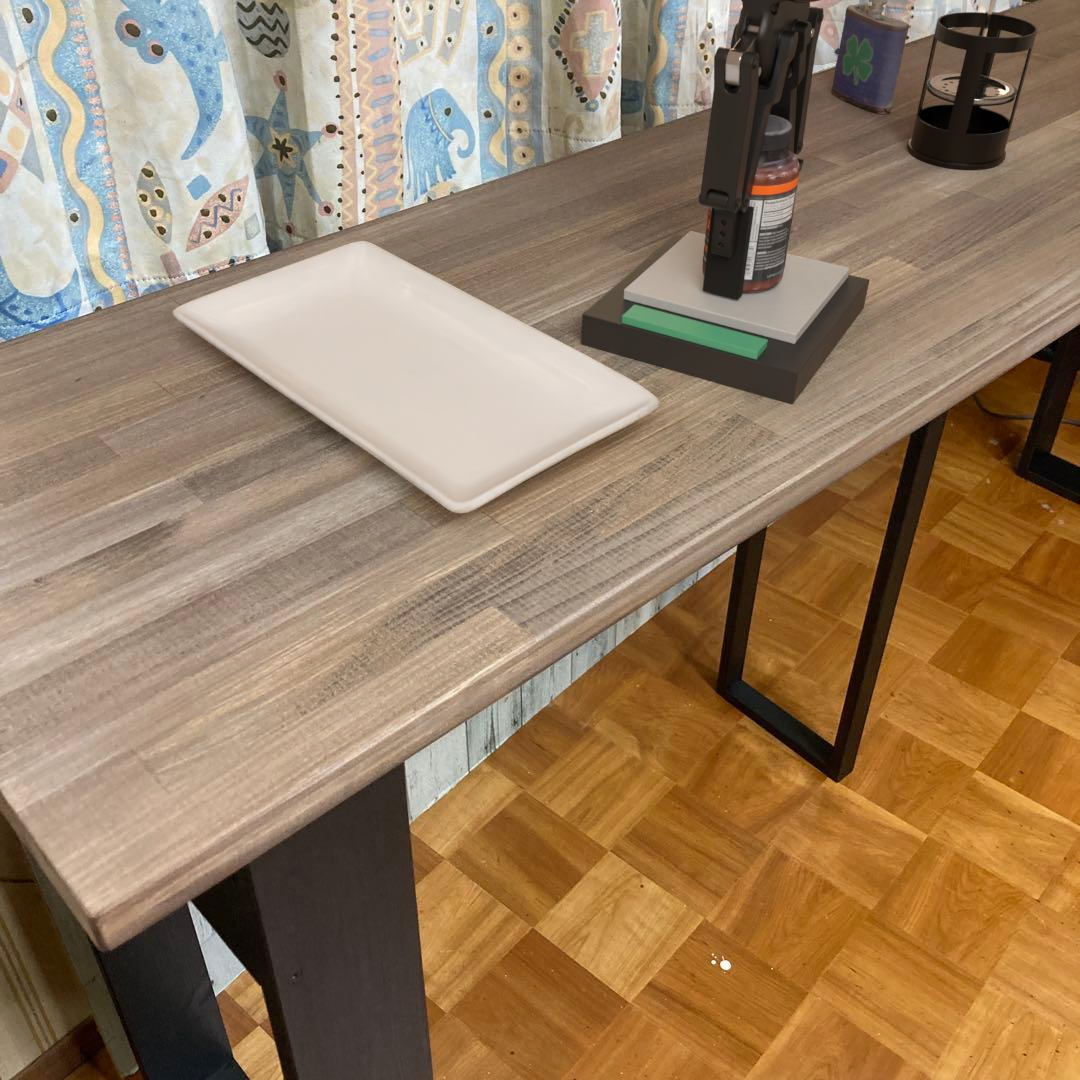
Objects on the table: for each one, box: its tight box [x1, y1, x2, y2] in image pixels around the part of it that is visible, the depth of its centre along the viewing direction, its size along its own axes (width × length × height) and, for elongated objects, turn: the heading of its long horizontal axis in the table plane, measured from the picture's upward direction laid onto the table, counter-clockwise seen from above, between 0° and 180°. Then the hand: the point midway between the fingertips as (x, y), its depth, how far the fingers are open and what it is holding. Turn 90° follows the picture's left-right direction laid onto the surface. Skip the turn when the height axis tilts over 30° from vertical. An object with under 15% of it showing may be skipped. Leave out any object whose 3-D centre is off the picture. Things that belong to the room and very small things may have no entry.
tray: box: [172, 240, 661, 514], centre depth 74 cm, size 17×31×4 cm, turn 43°
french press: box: [906, 0, 1038, 171], centre depth 105 cm, size 12×9×23 cm
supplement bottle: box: [702, 115, 801, 293], centre depth 79 cm, size 6×6×11 cm
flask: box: [830, 0, 910, 115], centre depth 121 cm, size 9×3×11 cm, turn 25°
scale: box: [580, 230, 870, 405], centre depth 82 cm, size 16×16×3 cm
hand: (739, 274), depth 82 cm, fingers closed on supplement bottle, 6 cm apart
